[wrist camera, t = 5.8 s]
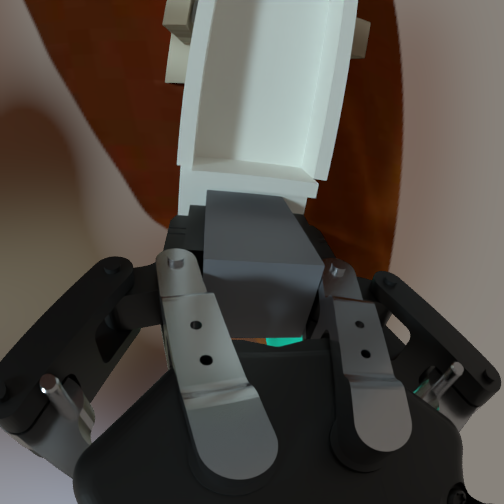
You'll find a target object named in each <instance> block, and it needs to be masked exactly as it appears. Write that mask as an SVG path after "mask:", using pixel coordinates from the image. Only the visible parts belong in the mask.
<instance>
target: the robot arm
mask: <svg viewBox="0 0 504 504" xmlns="http://www.w3.org/2000/svg"><path fill="white" fill-rule="evenodd" d="M205 211H206V206H202V205H190V207H189V213H188V216H186V215H176V216H175V217H174V218H173V219H172V220H171V221H170V225H169V229H168V234H167V237H166V241H165V245H164V250H163V251H162V252H161V253H159V254H158V255H157V257H156V262H155V263H153V264H151V265H148V266H143V267H137V268H133V265H132V263H131V262H130V261H129V260H128V259H126V258H123V257H108V258H105V259H102V260H100V261H99V262H98V263H97V264H95V265H94V266H93V267H92V268H91V269H90V270H89V271H88V272H87V273H85V274H84V275H83V276H82V277H81V278H80V279H79V280H78V281H77V282H76V283H75V284H74V285H73V286H72V287H71V288H69V290H67V291H66V292H65V293H64V294H63V295H62V296H61V297H60V298H59V299H58V300H57V301H56V302H55V303H54V304H53V305H52V306H51V307H50V308H49V309H48V310H47V311H46V312H45V313H44V314H43V315H42V316H41V317H40V318H39V319H38V320H37V322H36V323H35V324H34V325H33V326H32V327H31V328H30V329H29V330H28V331H27V332H26V334H24V335H23V337H22V338H21V339H20V340H19V341H18V342H17V343H16V344H15V345H14V347H13V348H12V349H11V350H10V351H9V352H8V353H7V354H6V356H5V357H4V358H3V359H2V360H1V362H0V427H1V428H2V429H3V430H4V431H5V432H6V433H7V434H8V435H10V436H11V437H12V438H13V439H14V440H16V441H17V442H18V443H19V444H21V445H22V446H24V447H25V448H27V449H29V450H30V451H32V452H33V453H34V454H35V455H37V456H39V457H42V458H44V459H46V460H47V461H48V462H50V463H51V464H53V465H54V466H55V467H56V468H58V469H59V470H61V471H62V472H64V473H65V474H67V475H68V476H69V477H71V478H72V479H73V489H74V494H75V497H76V500H77V502H78V504H485V503H482V502H480V501H477V500H476V499H474V498H473V497H471V496H470V495H469V494H468V492H467V490H466V488H465V485H464V479H463V470H462V455H463V446H462V440H461V436H460V433H459V432H460V430H461V429H462V428H463V427H464V425H465V424H466V423H467V421H468V420H469V418H470V417H471V416H472V414H473V413H474V412H475V411H477V410H478V409H479V408H480V407H481V406H482V405H483V404H485V403H486V402H487V401H488V400H489V399H490V398H491V397H492V396H493V395H494V394H495V393H496V392H497V391H498V390H499V389H500V387H501V378H500V376H499V373H498V372H497V370H496V369H495V368H494V367H493V366H492V365H491V363H490V362H489V361H488V360H487V359H486V358H485V357H484V356H483V355H482V354H481V353H480V352H479V351H478V350H477V349H476V348H475V347H474V346H473V345H472V344H471V343H470V342H469V341H468V340H467V339H466V338H465V337H464V336H463V335H462V334H461V333H459V332H458V331H457V330H456V329H455V328H454V327H453V326H452V325H451V324H450V323H449V322H448V321H447V320H446V319H445V318H444V317H443V316H441V315H440V314H439V313H438V312H437V311H436V310H435V309H434V308H433V307H432V306H431V305H429V304H428V303H427V302H426V301H425V300H424V299H423V298H422V297H420V296H419V295H418V294H417V293H416V292H415V291H414V290H413V289H411V288H410V287H409V286H408V285H407V284H406V283H404V282H403V281H402V280H401V279H400V278H399V277H397V276H395V275H394V274H392V273H389V272H386V271H379V272H376V273H375V275H374V277H373V279H372V280H369V279H365V278H361V277H357V276H356V274H355V271H354V269H353V267H352V266H351V265H349V264H348V263H347V262H345V261H343V260H340V259H337V258H336V257H335V256H334V254H333V252H332V250H331V249H330V247H329V245H327V242H326V240H324V237H323V235H322V233H321V232H320V231H319V230H318V229H316V228H315V227H314V226H311V225H309V224H308V222H307V220H306V219H305V217H304V215H303V214H296V213H293V214H294V216H295V218H296V219H297V221H298V222H299V224H300V226H301V227H302V229H303V230H304V232H305V234H306V235H307V237H308V238H309V240H310V242H311V243H312V245H313V247H314V248H315V250H316V251H317V253H318V255H319V256H320V258H321V260H322V261H323V263H324V265H325V267H324V270H323V274H322V277H321V280H320V283H319V286H318V290H317V293H316V296H315V299H314V302H313V305H312V308H311V311H310V314H309V317H308V320H307V323H306V325H305V328H304V330H303V333H302V341H300V342H296V343H292V344H288V345H284V346H280V347H276V346H270V345H265V344H260V343H255V342H250V341H245V340H231V338H230V335H229V333H228V330H227V327H226V325H225V322H224V319H223V317H222V314H221V311H220V308H219V306H218V303H217V300H216V297H215V295H214V293H213V292H207V290H206V287H205V284H204V281H203V278H202V270H203V255H204V232H205ZM392 314H393V315H394V316H395V317H397V318H398V319H399V320H400V321H401V322H402V323H403V324H404V325H405V326H406V327H407V328H408V330H409V331H410V340H409V342H408V343H407V345H405V344H404V343H403V342H402V341H401V340H400V339H398V337H397V336H396V335H395V334H394V333H393V332H392V331H391V330H390V329H389V328H388V327H387V326H386V323H387V321H388V320H389V318H390V316H391V315H392ZM159 324H160V325H161V331H162V336H163V342H164V348H165V354H166V359H167V366H168V371H167V372H166V373H165V374H164V375H163V376H162V377H161V378H160V379H159V380H158V381H157V382H156V383H155V384H154V385H153V386H152V387H151V388H150V389H149V390H148V391H147V392H146V393H145V394H144V395H143V396H141V397H140V398H139V399H138V400H137V401H136V402H135V403H134V404H133V405H132V406H131V407H130V408H129V409H128V410H127V411H126V412H125V413H124V414H123V415H122V416H121V417H120V418H119V419H118V420H116V421H115V422H114V423H113V424H112V425H111V426H110V427H109V428H108V429H107V430H106V431H105V432H104V433H103V434H102V435H101V436H100V437H98V438H97V439H96V440H95V441H94V442H93V443H91V430H92V428H93V425H94V422H95V413H94V410H93V408H92V406H91V404H90V403H91V401H92V400H93V398H94V397H95V395H96V394H97V392H98V391H99V390H100V388H101V386H102V385H103V384H104V382H105V381H106V379H107V378H108V376H109V375H110V373H111V372H112V370H113V369H114V368H115V366H116V365H117V363H118V362H119V360H120V359H121V357H122V356H123V355H124V353H125V352H126V350H127V349H128V347H129V346H130V345H131V343H132V342H133V340H134V339H135V338H136V336H137V335H138V333H139V332H140V329H141V328H143V327H148V326H153V325H159Z"/></svg>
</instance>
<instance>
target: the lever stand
mask: <svg viewBox="0 0 504 504" xmlns="http://www.w3.org/2000/svg"><path fill="white" fill-rule="evenodd" d="M194 2H195V0H167V3H166V9H165V14H164V20H163V25H164V26H165V27H166V28H167V29H168V30H169V31H170V32H171V33H172V34H171V41H170V47H169V54H168V62H167V70H166V78H165V83H185V78H186V71H187V64H188V57H189V51H190V44H191V38H192V32H193V27H194V23H193V22H192V11H193V6H194ZM370 24H371V23H370V22H368V21H365V20H363V19H360V18H357V17H356V22H355V29H354V36H353V43H352V50H351V57H350V59H353V58H365V53H366V47H367V42H368V36H369V30H370Z"/></svg>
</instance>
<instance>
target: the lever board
mask: <svg viewBox="0 0 504 504" xmlns="http://www.w3.org/2000/svg"><path fill="white" fill-rule="evenodd" d="M357 5H358V0H195V2H194V6H193V11H192V22H193V23H194V27H193V32H192V38H191V44H190V51H189V57H188V64H187V71H186V78H185V86H184V94H183V103H182V112H181V121H180V132H179V143H178V156H177V165H181V170H180V185H179V204H178V215H186V216H188V213H189V207H190V205H202V206H206V211H205V232H204V255H203V270H202V278H203V281H204V284H205V287H206V290H207V292H213V293H214V295H215V297H216V300H217V303H218V306H219V308H220V311H221V314H222V317H223V319H224V322H225V325H226V327H227V330H228V333H229V335H230V338H299V337H302V333H303V330H304V328H305V325H306V323H307V320H308V317H309V314H310V311H311V308H312V305H313V302H314V299H315V296H316V293H317V290H318V286H319V283H320V280H321V277H322V274H323V270H324V267H325V265H324V263H323V261H322V260H321V258H320V256H319V255H318V253H317V251H316V250H315V248H314V247H313V245H312V243H311V242H310V240H309V238H308V237H307V235H306V234H305V232H304V230H303V229H302V227H301V226H300V224H299V222H298V221H297V219H296V218H295V216H294V214H293V213H296V214H303V215H304V210H305V206H306V201H307V197H309V198H316V195H317V190H318V186H319V183H317V182H316V181H315V180H314V179H318V180H325V181H327V177H328V173H329V168H330V164H331V159H332V154H333V150H334V145H335V140H336V135H337V130H338V125H339V120H340V115H341V109H342V104H343V99H344V93H345V87H346V81H347V75H348V69H349V63H350V57H351V50H352V43H353V36H354V29H355V22H356V14H357Z"/></svg>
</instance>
